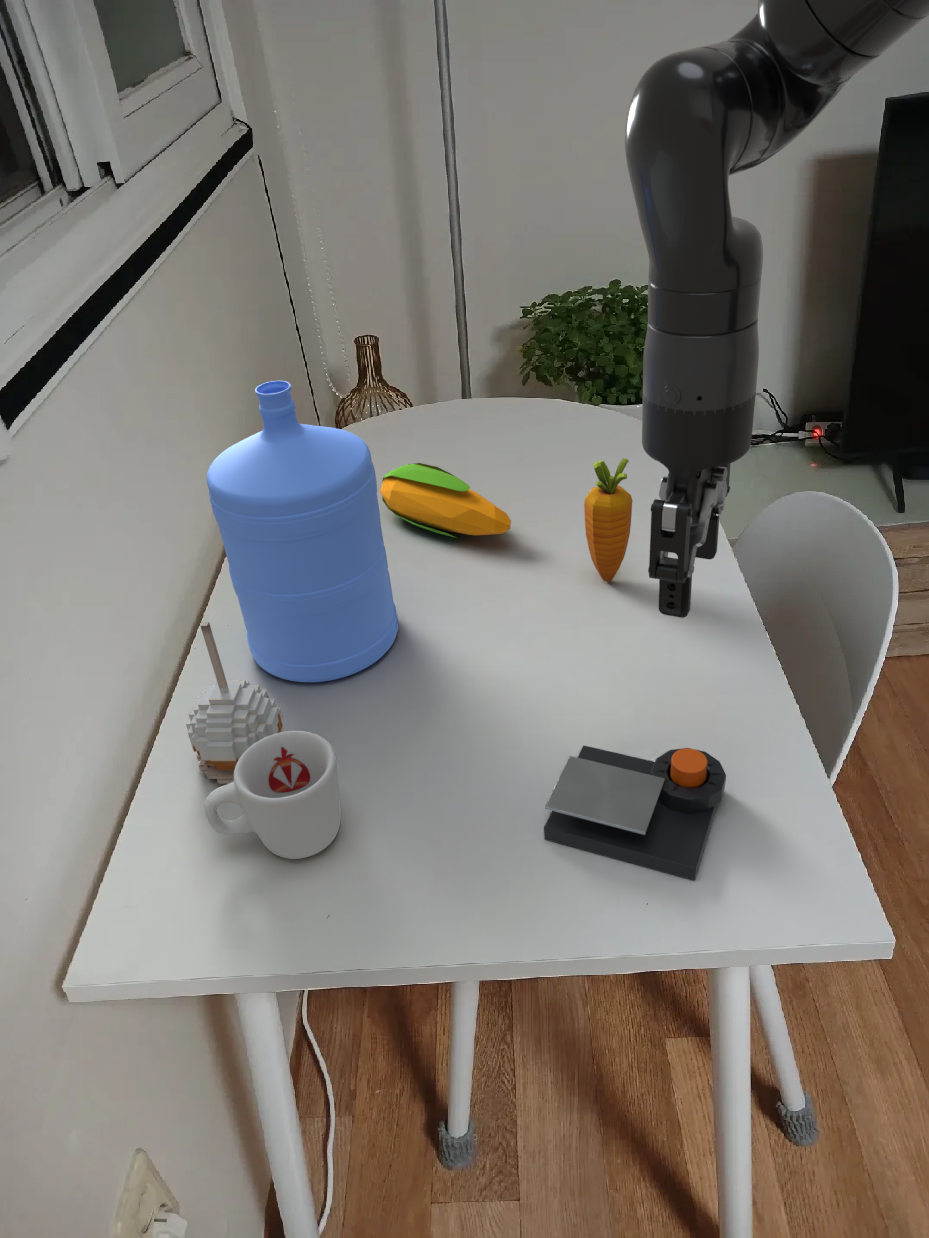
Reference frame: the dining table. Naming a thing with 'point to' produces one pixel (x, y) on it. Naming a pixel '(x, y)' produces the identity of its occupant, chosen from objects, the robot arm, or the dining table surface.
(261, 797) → the cup
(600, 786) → the plate
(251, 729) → the caramel apple
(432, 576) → the dining table surface
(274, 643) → the water jug
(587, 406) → the dining table surface
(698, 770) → the button
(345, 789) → the dining table surface
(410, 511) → the corn
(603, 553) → the carrot
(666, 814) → the scale
